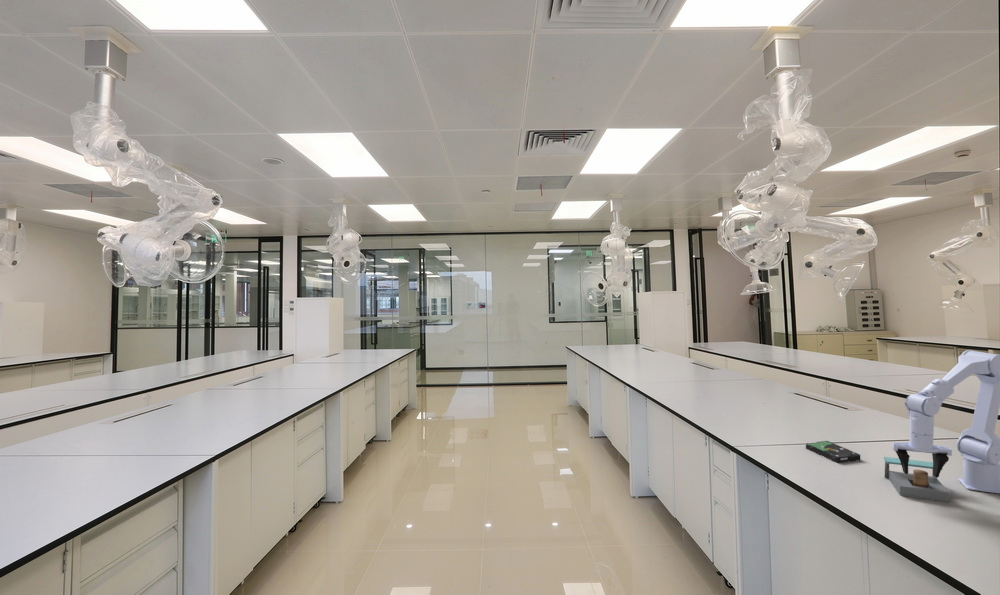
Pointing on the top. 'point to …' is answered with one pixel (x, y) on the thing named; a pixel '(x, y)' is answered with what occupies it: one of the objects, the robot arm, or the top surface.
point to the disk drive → (833, 451)
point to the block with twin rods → (911, 463)
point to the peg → (920, 478)
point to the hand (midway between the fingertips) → (920, 474)
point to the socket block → (906, 488)
